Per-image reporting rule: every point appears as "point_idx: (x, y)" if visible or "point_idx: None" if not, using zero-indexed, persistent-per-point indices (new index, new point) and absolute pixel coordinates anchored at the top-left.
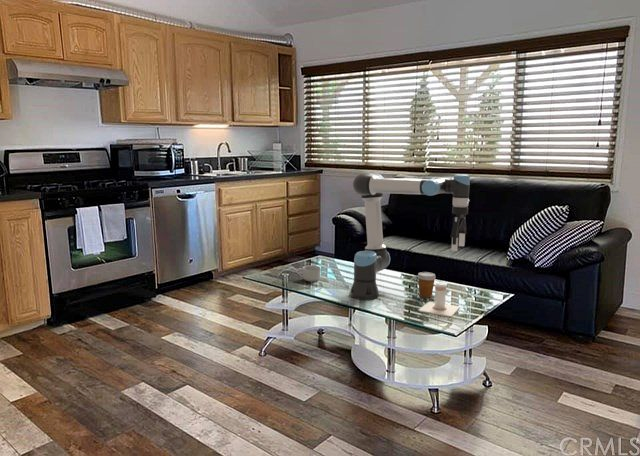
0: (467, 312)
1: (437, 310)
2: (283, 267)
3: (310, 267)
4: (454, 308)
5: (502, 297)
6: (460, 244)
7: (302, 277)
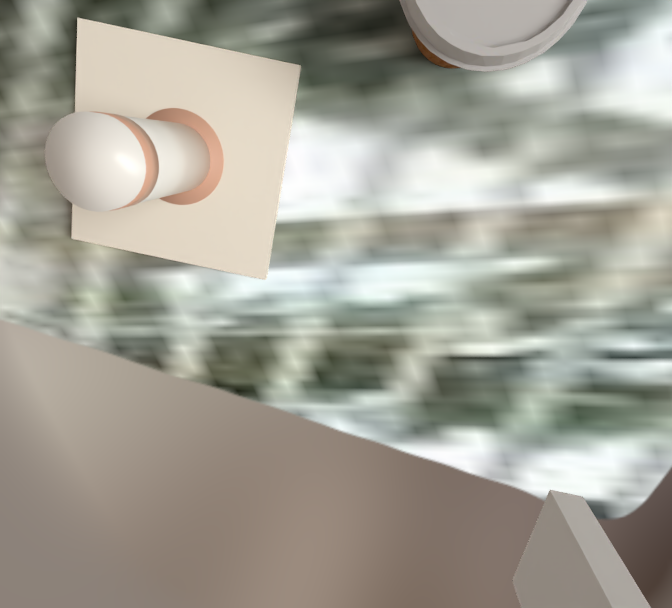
0: (200, 319)
1: None
2: None
3: None
4: (215, 248)
5: None
6: (551, 549)
7: None
